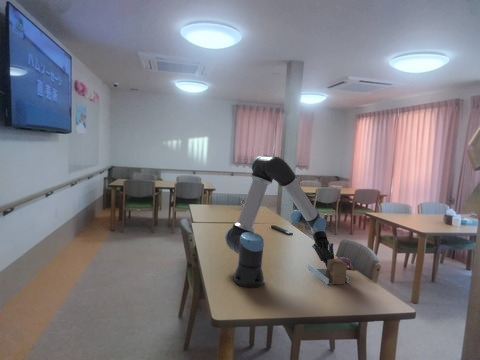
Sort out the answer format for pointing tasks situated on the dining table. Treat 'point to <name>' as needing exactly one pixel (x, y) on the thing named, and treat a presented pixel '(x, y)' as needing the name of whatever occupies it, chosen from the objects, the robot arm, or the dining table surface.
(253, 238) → the robot arm
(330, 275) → the walnut block
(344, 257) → the video game controller
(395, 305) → the dining table surface
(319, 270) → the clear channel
